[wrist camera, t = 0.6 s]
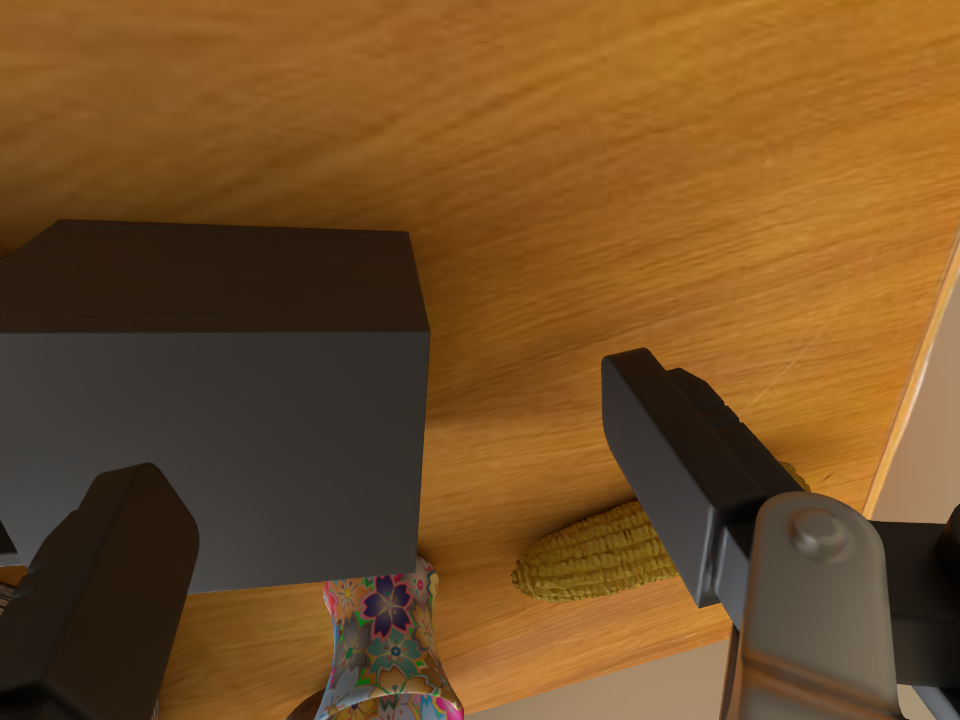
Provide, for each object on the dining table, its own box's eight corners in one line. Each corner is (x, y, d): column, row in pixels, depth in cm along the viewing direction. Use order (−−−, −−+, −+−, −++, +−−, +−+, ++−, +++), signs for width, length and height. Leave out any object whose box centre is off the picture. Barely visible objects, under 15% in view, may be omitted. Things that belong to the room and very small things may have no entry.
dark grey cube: (130, 446, 29) (46, 608, 22) (58, 218, 23) (-101, 332, 15) (401, 434, 32) (415, 572, 25) (408, 231, 26) (430, 331, 18)
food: (772, 432, 39) (832, 494, 34) (771, 482, 42) (826, 545, 37) (496, 534, 39) (516, 610, 34) (516, 576, 42) (537, 651, 37)
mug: (299, 558, 37) (282, 721, 28) (427, 523, 37) (447, 674, 29) (352, 644, 43) (350, 797, 35) (459, 613, 44) (483, 757, 35)
